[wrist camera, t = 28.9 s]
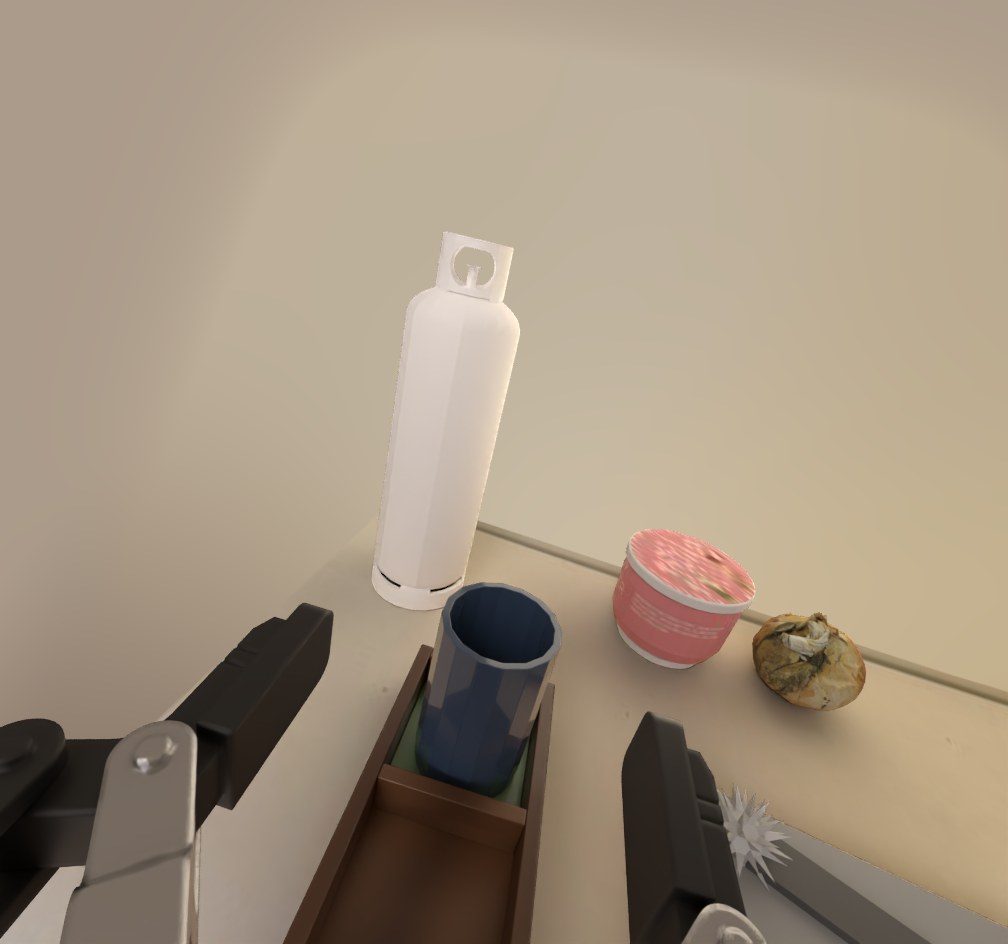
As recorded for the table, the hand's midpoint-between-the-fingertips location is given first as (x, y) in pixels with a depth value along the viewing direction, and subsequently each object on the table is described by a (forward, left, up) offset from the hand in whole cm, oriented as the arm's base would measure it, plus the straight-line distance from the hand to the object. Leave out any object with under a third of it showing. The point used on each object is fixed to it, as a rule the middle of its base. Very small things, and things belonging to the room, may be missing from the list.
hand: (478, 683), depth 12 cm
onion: (+25, +26, -18) cm, 40 cm away
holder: (0, +7, -18) cm, 19 cm away
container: (+14, +28, -18) cm, 36 cm away
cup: (0, +11, -17) cm, 20 cm away
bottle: (-8, +26, -18) cm, 33 cm away
